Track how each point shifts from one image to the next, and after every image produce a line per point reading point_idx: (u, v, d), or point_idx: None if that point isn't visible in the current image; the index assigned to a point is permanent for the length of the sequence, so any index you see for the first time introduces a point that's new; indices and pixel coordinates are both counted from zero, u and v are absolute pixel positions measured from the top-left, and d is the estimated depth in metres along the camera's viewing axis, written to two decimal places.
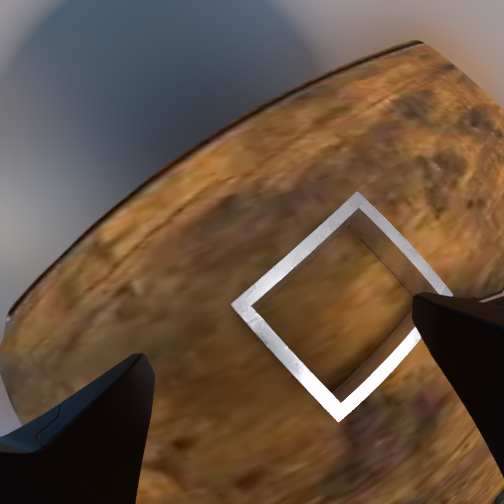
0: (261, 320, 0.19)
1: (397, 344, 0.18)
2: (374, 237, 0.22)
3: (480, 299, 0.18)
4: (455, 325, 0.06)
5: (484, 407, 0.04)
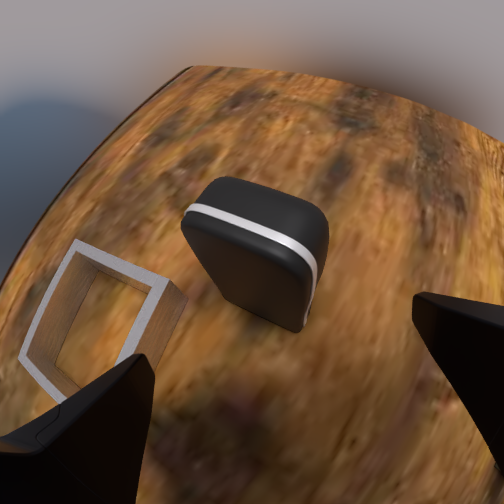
0: (31, 363, 0.17)
1: None
2: (102, 267, 0.23)
3: None
4: (455, 325, 0.06)
5: (484, 407, 0.04)
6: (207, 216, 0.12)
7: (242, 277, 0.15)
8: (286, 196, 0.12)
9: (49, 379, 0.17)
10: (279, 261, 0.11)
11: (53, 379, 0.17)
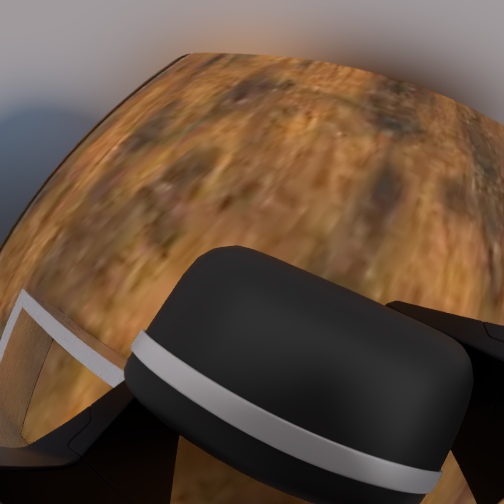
0: None
1: None
2: None
3: None
4: None
5: None
6: (184, 399, 0.04)
7: None
8: (412, 335, 0.04)
9: None
10: None
11: None
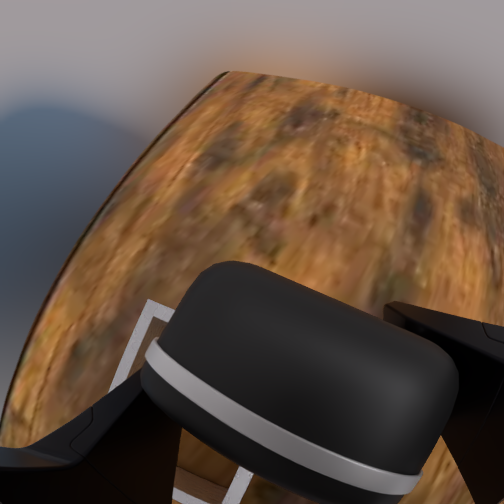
0: None
1: None
2: None
3: None
4: None
5: (453, 426, 0.04)
6: (185, 399, 0.04)
7: None
8: (389, 347, 0.04)
9: None
10: None
11: None
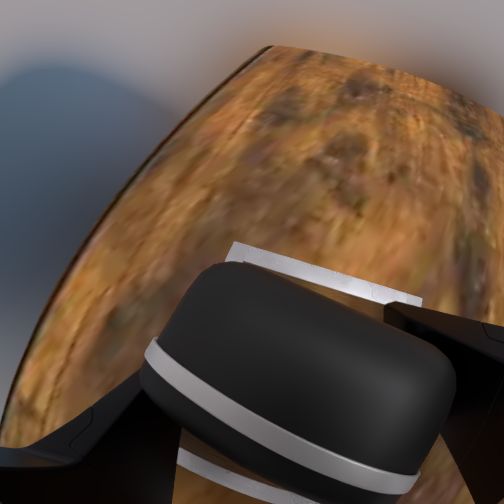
0: (182, 451, 0.11)
1: None
2: None
3: None
4: (422, 339, 0.06)
5: (453, 426, 0.04)
6: (185, 399, 0.04)
7: None
8: (388, 348, 0.04)
9: (230, 469, 0.11)
10: None
11: (229, 465, 0.12)
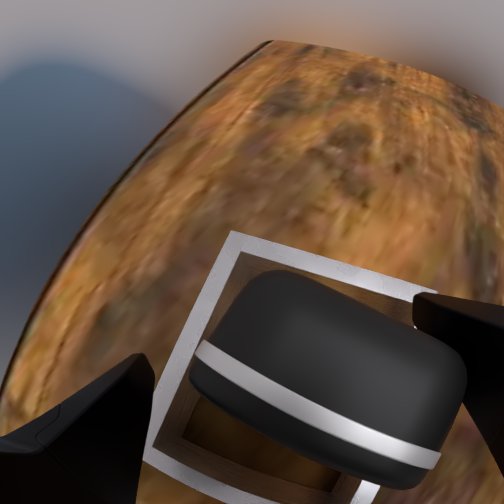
0: (173, 461, 0.10)
1: None
2: None
3: None
4: (455, 325, 0.06)
5: (484, 407, 0.04)
6: (251, 397, 0.05)
7: None
8: (421, 346, 0.05)
9: (226, 482, 0.09)
10: (394, 487, 0.04)
11: (225, 477, 0.10)
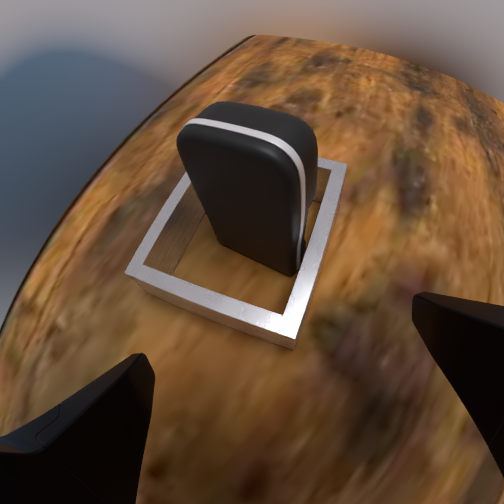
0: (156, 271, 0.17)
1: None
2: None
3: None
4: (455, 325, 0.06)
5: (484, 407, 0.04)
6: (201, 126, 0.12)
7: (233, 195, 0.15)
8: (275, 111, 0.12)
9: None
10: (265, 155, 0.11)
11: None
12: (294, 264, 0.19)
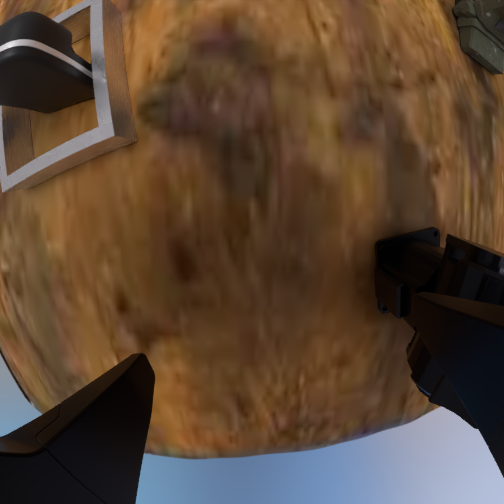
0: (16, 172, 0.15)
1: None
2: None
3: None
4: (455, 325, 0.06)
5: (484, 407, 0.04)
6: None
7: (17, 87, 0.10)
8: (2, 25, 0.06)
9: None
10: (3, 60, 0.07)
11: None
12: None
